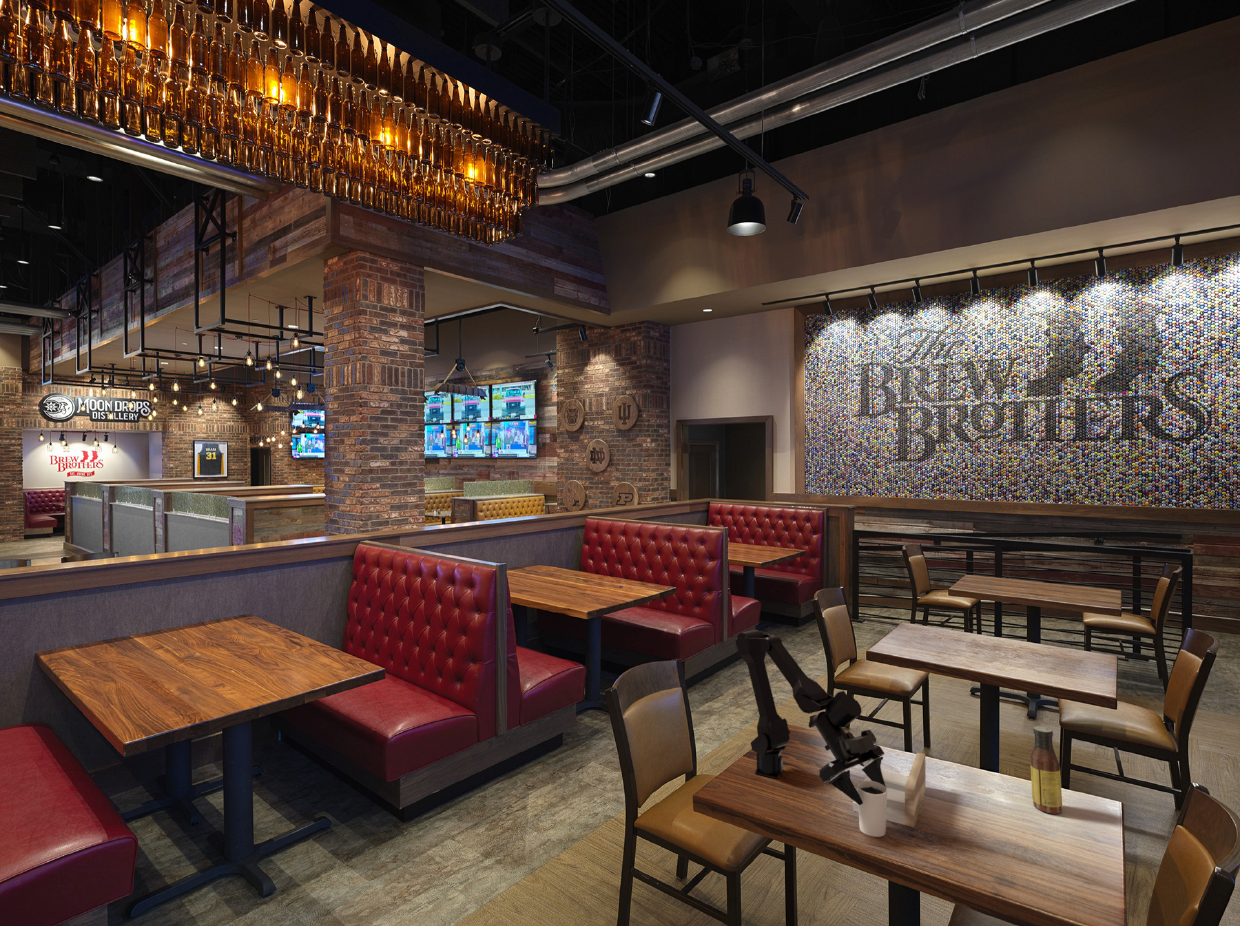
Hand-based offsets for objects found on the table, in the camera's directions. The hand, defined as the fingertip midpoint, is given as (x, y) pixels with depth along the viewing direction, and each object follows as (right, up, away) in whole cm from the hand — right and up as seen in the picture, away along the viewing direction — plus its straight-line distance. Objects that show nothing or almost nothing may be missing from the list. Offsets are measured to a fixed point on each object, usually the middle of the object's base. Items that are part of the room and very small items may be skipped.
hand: (873, 798), depth 148 cm
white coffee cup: (0, -8, 0) cm, 8 cm away
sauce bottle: (+47, -8, +9) cm, 49 cm away
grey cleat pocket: (+9, -8, +15) cm, 19 cm away
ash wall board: (+15, -8, +11) cm, 20 cm away
